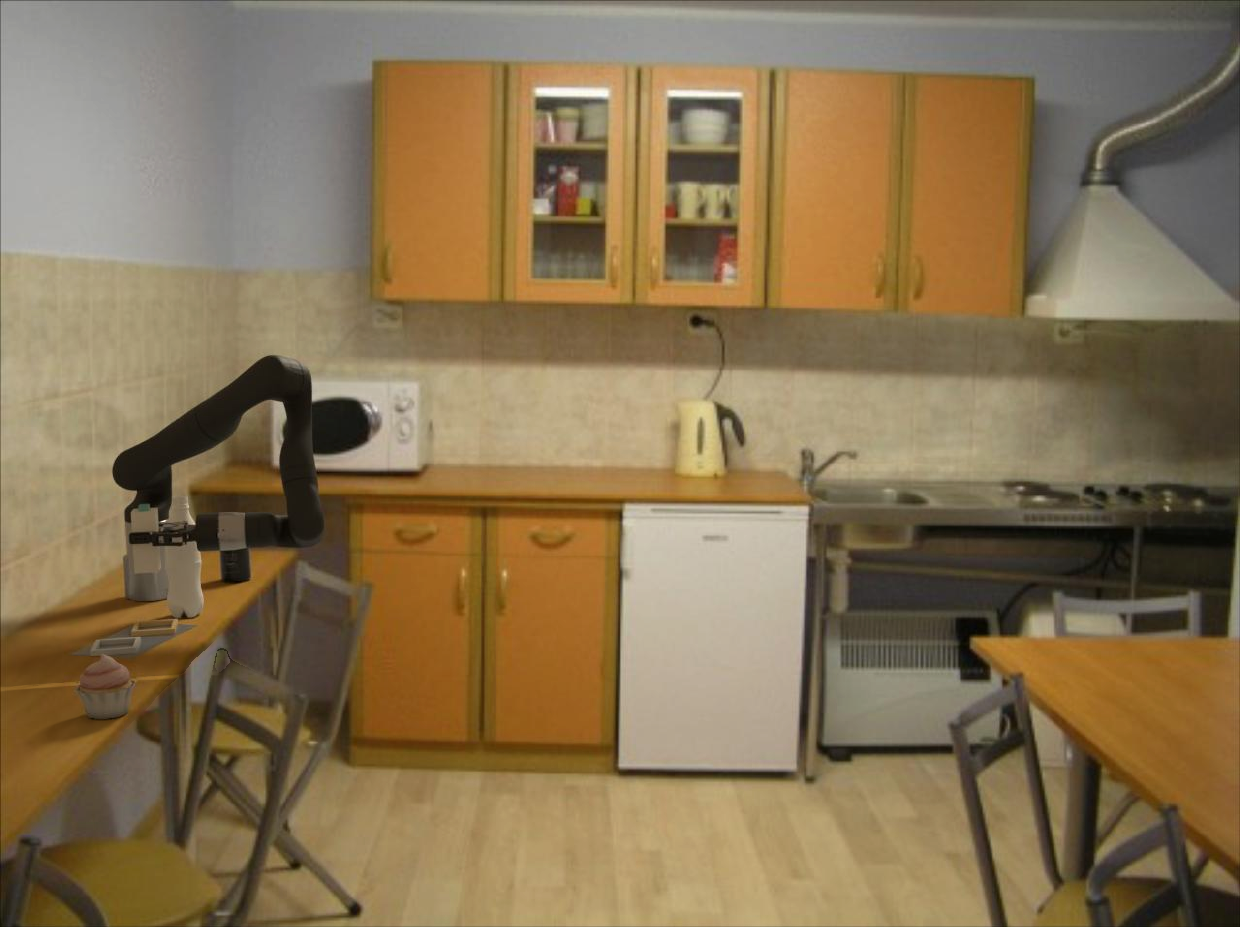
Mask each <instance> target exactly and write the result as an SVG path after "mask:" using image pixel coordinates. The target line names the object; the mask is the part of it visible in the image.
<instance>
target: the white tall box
mask: <svg viewBox="0 0 1240 927" xmlns="http://www.w3.org/2000/svg"><path fill="white" fill-rule="evenodd" d="M131 525H132V532H150V531H159V525H158V508H150V504H140V505H139V506H138V509H133V510H132V512H131ZM133 559H134V574H136V573H154V572H159V571H160V568H161V559H160V546H152V544H150V543H148V544H133Z"/></svg>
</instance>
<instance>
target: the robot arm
mask: <svg viewBox="0 0 1240 927" xmlns="http://www.w3.org/2000/svg"><path fill="white" fill-rule="evenodd" d="M311 375H312V374H311V372H310V369H309V368H308V366H307V365H306V363H304V362H302V361H301V360H298V359H294V358H291V357H286V356H283V355H277V354H272V355H271V354H269V355H266V356H265V355H264V356H263V357H261V358H260V359H258V360H257V361H255V362H254V363H252V365H251V366H249V367H248V368H247V369H246V370H245V371H244V372H243V373H241V374H240V375H239V376H238V377H237V378H235V379H234V380H232V381H231V382H230V383H229V384H228V385H225V387H223V388H222V389H220V390H218V391H217V392H216V393H214V394H213V395H211V396H210V397H208V398H206V399H205V400H204V401H202V402H199V403H198V404H197V405H195V406H194V407H192V408H191V409H190V410H188V411H187V412H185V413H184V414H182V415H181V416H180V417H178V418H177V419H175V420H174V421H172V422H170V423H169V424H168V425H167V426H166V427H164V428H162V429H161V430H160V431H159V432H158V433H156V434H154V435H152V436H151V437H149V438H148V439H146V440H144V441H142V442H140V443H137V444H136V445H134V446H131V447H130V448H127V449H125V450H124V451H122V452H120V453H119V454H118V455H117V457H116V458H115V460H114V462H113V464H112V469H111V470H112V471H111V473H112V474H111V475H112V478H113V480H114V482H115V484H116V485H117V486H118V487H119V488H121V489H123V490H126V491H131V492H136V494H135V496H134V499H132V501H131V503H129V505H127V506H126V507H125V508H124V511H123V512H124V513H123V515H124V517H123V518H124V529H125V530H124V531H125V547H126V548H125V549H126V550H125V551H126V554H125V555H123V556H122V563H123V564H122V566H123V570H122V571H123V582H124V584H123V586H124V598H125V600H131V601H135V602H151V601H152V602H153V601H160V600H167V597H168V590H169V581H168V574H167V570H166V567H165V562H166V557H165V546H179V547H180V546H183V545H187V542H193V541H195V542H196V543H197V550H198V551H200V553H202V552H203V553H204V552H205V553H206V552H219V551H224V550H237V549H242V548H250V549H252V548H253V549H254V548H255V549H256V548H266V547H276V548H277V547H278V548H287V549H288V548H289V549H304V548H311V547H314V546H317V545H318V544H320V543H321V541H322V540H323V539H324V536H325V533H326V522H325V517H324V516H325V515H324V512H323V507H322V502H321V498H320V495H319V482H318V477H317V476H318V474H317V470H316V468H317V467H316V464H315V457H314V456H315V455H314V450H313V448H314V447H313V384H312V382H313V381H312V376H311ZM266 401H274V402H278V403H282V405H283V407H284V413H285V417H286V429H285V434H284V437H283V440H282V444H281V448H280V452H279V458H278V464H279V465H278V466H279V474H280V479H281V485H282V486H281V487H282V490H283V493H284V497H285V503H286V512H287V515H285V514H282V515H277V514H274V513H272V512H267V511H257V512H254V511H253V512H235V511H231V512H230V511H229V512H227V511H226V512H225V511H224V512H207V513H204V512H203V513H197V514H196V515H195V521H194V522H195V525H190V524H188V522H186V521H183V522H174V523H169V521H170V510H171V507H172V504H173V501H172V500H173V499H172V497H173V471H172V470H173V469H172V466H173V465H175V464H178V463H180V462H184V461H185V460H189V459H191V458H194V457H196V456H198V455H201V454H203V453H205V452H207V451H209V450H212V449H213V448H215V447H217V446H219V445H220V444H221V443H223V442H224V441H226V440H228V439H229V438H231V437H232V436H233V435H234V434H235V432H236V431H237V429H238V427H239V425H240V423H241V421H242V418H243V416H244V414H245V413H246V412H248V411H249V410H251V409H252V408H254V407H256V406H258V405H259V404H261V403H263V402H266ZM140 504H150V508H158V525H159V531H150V532H132V525H131V512H132V510H133V509H138V506H139V505H140ZM148 543H150V544H152V546H160V559H161V568H160V571H159V572H154V573H136V574H134V559H133V544H148Z"/></svg>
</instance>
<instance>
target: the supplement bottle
mask: <svg viewBox="0 0 1240 927" xmlns="http://www.w3.org/2000/svg"><path fill="white" fill-rule="evenodd" d="M218 553H219V568H220V579H221V580H220V581H222V582H223V581H225V582H224V583H229V582H235V583H243V582H242V581H244V582H247V581H249V579H250V580H251V579H252V564H251V548H242V549H237V550H224V551H218Z"/></svg>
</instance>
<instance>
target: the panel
mask: <svg viewBox="0 0 1240 927" xmlns="http://www.w3.org/2000/svg"><path fill="white" fill-rule="evenodd" d="M197 626H198V624H186V623H185V624H184V623H183V624H180V623H179V618H170V619H169V618H168V619H155V620H153V619H152V620H138V621H137V620H136V621H135V622H134V624H133V625H130V626H128V627H126V628H124V629H122V630H121V629H120V630H118V632H115V633H112V634H111V635H109V636H106V637H104V638H102V639H95V641H94V642H93V643H91V644H89V645H87V646H85V647H83V648H80V649H79V650H76V651H74V652H72V653H70V654H69V655H70V656H84V657H85V656H86V657H87V656H89V657H100V656H101V654H104V655H106V656H109V657H111V658H123V659H124V658H128V659H135V658H137V657H138V656H140V655H143V654H144V653H146V652H148V651H150V650H152V649H153V648H156V647H158V646H160V645H162V644H164V643H165V642H168V641H169V640H172V639H173V638H175V637H177V636H180V635H182V634H184V633H186V632H187V631H189V630H192V629H194V628H196V627H197Z"/></svg>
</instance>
